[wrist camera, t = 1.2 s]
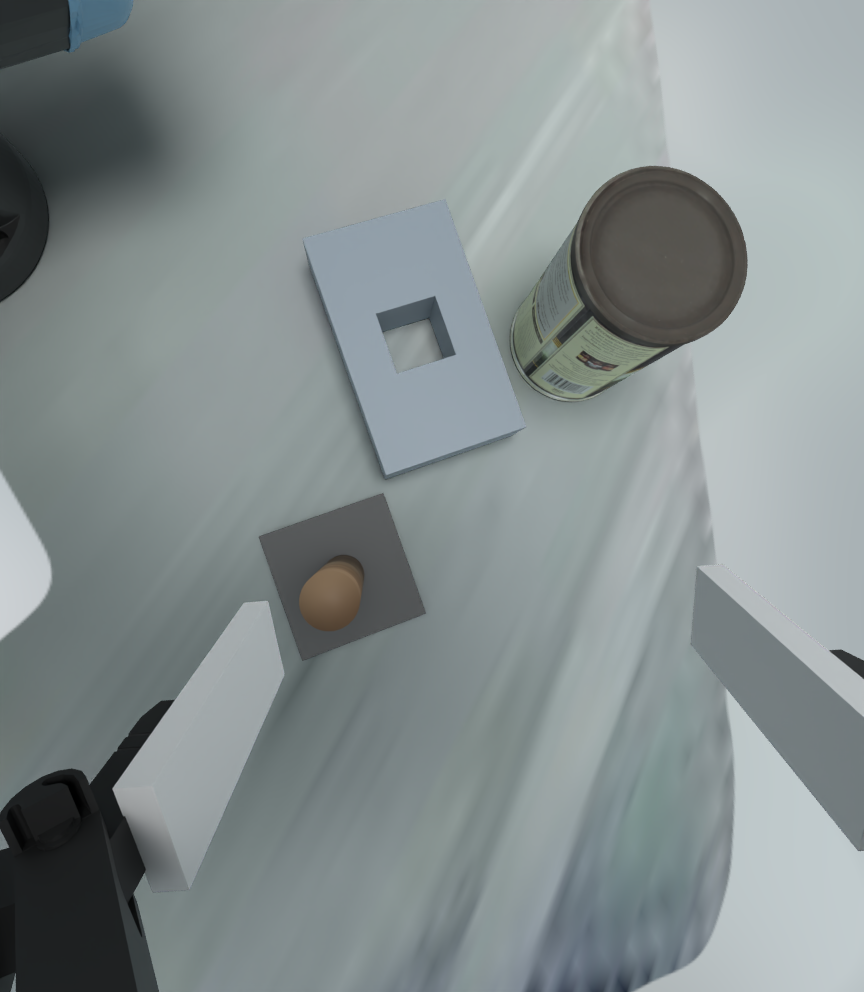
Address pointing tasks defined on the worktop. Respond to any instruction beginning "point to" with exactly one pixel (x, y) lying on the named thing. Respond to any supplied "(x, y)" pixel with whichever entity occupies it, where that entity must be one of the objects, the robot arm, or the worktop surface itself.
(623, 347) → the coffee can
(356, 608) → the dowel
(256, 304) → the worktop surface
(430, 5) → the worktop surface
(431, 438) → the socket board
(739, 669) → the robot arm
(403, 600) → the mat
